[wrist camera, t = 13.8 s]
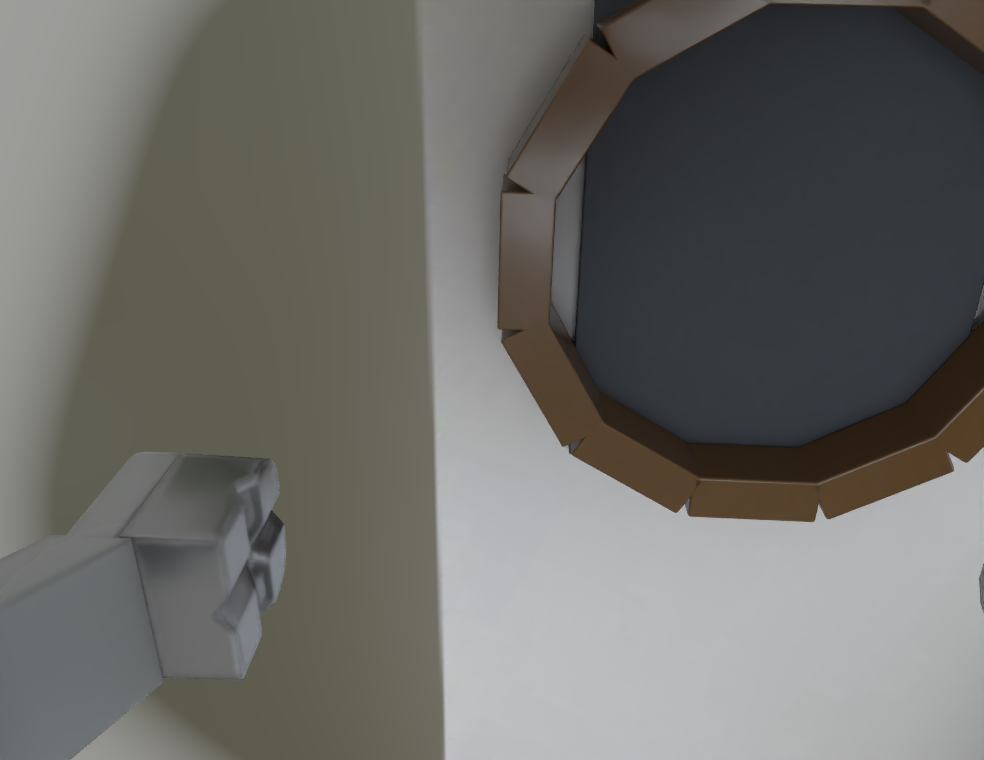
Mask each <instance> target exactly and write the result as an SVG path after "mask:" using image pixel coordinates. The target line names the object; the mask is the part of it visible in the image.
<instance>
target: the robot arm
mask: <svg viewBox="0 0 984 760" xmlns="http://www.w3.org/2000/svg"><path fill="white" fill-rule="evenodd" d="M279 492H280V489H279V482H278V476H277V469H276V466H275V465H274V463H273V462H272V460H271V459H266V458H251V457H234V456H218V455H217V456H216V455H201V454H181V453H164V452H141V453H137V454H133V455H132V456H131V457H130V459H129V460H128V461H127V462H126V464H125V465H124V466H123V467H122V468H121V469H120V471H119V472H118V473H117V474H116V475H115V477H114V478H113V479H112V480H111V482H110V483H109V484H108V485H107V486H106V488H105V489H104V490H103V491H102V492H101V494H100V495H99V496H98V497H97V498H96V500H95V501H94V502H93V503H92V504H91V506H90V507H89V508H88V509H87V510H86V512H85V513H84V514H83V515H82V516H81V518H80V519H79V520H78V521H77V522H76V524H75V525H74V526H73V527H72V528H71V530H70V531H69V532H68V533H67V535H50V536H48V537H46V538H44V539H42V540H40V541H37V542H35V543H33V544H31V545H29V546H27V547H25V548H23V549H20V550H18V551H16V552H14V553H12V554H10V555H8V556H6V557H3V558H2V559H0V760H71V759H72V758H73V757H74V756H75V755H77V754H78V753H79V752H80V751H81V750H83V749H84V748H85V747H86V746H87V745H89V744H90V743H91V742H92V741H93V740H95V739H96V738H97V737H98V736H99V735H100V734H102V733H103V732H104V731H105V730H107V729H108V728H109V727H110V726H111V725H112V724H114V723H115V722H116V721H117V720H119V719H120V718H121V717H122V716H123V715H124V714H126V713H127V712H128V711H129V710H130V709H131V708H133V707H134V706H135V705H136V704H137V703H139V702H140V701H141V700H142V699H144V698H145V697H146V696H147V695H148V694H150V693H151V692H152V691H153V690H154V689H155V688H157V687H158V686H159V685H160V684H161V683H163V679H162V678H187V679H230V680H243V678H244V676H245V673H246V671H247V668H248V666H249V664H250V661H251V659H252V657H253V654H254V652H255V649H256V647H257V645H258V642H259V640H260V638H261V635H262V630H261V623H260V616H259V615H260V614H262V613H263V612H264V611H266V610H267V609H269V608H270V607H272V606H273V605H274V604H275V601H276V599H277V596H278V593H279V591H280V588H281V585H282V579H283V574H284V568H285V562H286V538H285V529H284V523H283V522H282V521H281V520H280V519H279V518H278V517H277V516H276V515H275V513H273V511H272V510H271V509H272V507H273V505H274V503H275V501H276V499H277V497H278V495H279ZM979 584H980V603H981V606H982V609H983V612H984V564H983V568H982V571H981V574H980V578H979Z"/></svg>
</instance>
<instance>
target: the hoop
mask: <svg viewBox="0 0 984 760" xmlns="http://www.w3.org/2000/svg"><path fill="white" fill-rule="evenodd" d="M770 4H774V5H818V6H862V7H892V8H894V9H895V10H897V11H898V12H899V13H901V14H902V15H903V16H905V17H906V18H907V19H909V20H910V21H911V22H913V23H914V24H915V25H917V26H918V27H920V28H921V29H922V30H924V31H925V32H926V33H928V34H929V35H930V36H932V37H933V38H934V39H936V40H937V41H938V42H940V43H941V44H943V45H944V46H945V47H947V48H948V49H949V50H951V51H952V52H953V53H955V54H956V55H957V56H959V57H960V58H961V59H963V60H964V61H966V62H967V63H968V64H970V65H971V66H972V67H974V68H975V69H976V70H978V71H979V72H980V73H982V74H983V75H984V0H635V1H633V2H631V3H630V4H628V5H626V6H624V7H623V8H621V9H619V10H617V11H616V12H614V13H612V14H610V15H609V16H607V17H605V18H604V19H602V20H600V21H598V22H597V23H596V25H597V28H598V30H599V32H600V34H601V36H602V38H603V41H604V43H605V45H606V47H607V48H606V47H604V46H603V45H601V44H600V43H598V42H597V41H595V40H594V39H592V38H591V37H589V36H588V35H584V36H583V38H582V39H581V41H580V43H579V44H578V46H577V47H576V49H575V51H574V52H573V54H572V56H571V57H570V59H569V61H568V62H567V64H566V66H565V67H564V69H563V71H562V72H561V74H560V75H559V77H558V79H557V80H556V82H555V84H554V85H553V87H552V89H551V90H550V92H549V94H548V95H547V97H546V99H545V100H544V102H543V103H542V105H541V107H540V108H539V110H538V112H537V113H536V115H535V117H534V118H533V120H532V122H531V123H530V125H529V127H528V128H527V130H526V131H525V133H524V135H523V136H522V138H521V140H520V141H519V143H518V145H517V146H516V148H515V150H514V151H513V153H512V155H511V156H510V158H509V160H508V166H507V172H506V174H504V177H503V182H502V188H501V202H500V243H499V285H498V326H497V327H498V329H502V338H501V342H502V344H503V346H504V348H505V349H506V351H507V353H508V354H509V356H510V358H511V360H512V361H513V363H514V365H515V366H516V368H517V370H518V371H519V373H520V375H521V377H522V378H523V380H524V382H525V383H526V385H527V387H528V388H529V390H530V392H531V394H532V395H533V397H534V399H535V400H536V402H537V404H538V406H539V407H540V409H541V411H542V412H543V414H544V416H545V417H546V419H547V421H548V423H549V424H550V426H551V428H552V429H553V431H554V433H555V434H556V436H557V438H558V440H559V441H560V443H561V445H562V446H566V445H569V444H571V450H572V455H573V456H574V457H576V458H578V459H580V460H582V461H583V462H585V463H587V464H589V465H591V466H592V467H594V468H596V469H598V470H600V471H601V472H603V473H605V474H607V475H609V476H610V477H612V478H614V479H616V480H617V481H619V482H621V483H623V484H625V485H626V486H628V487H630V488H632V489H634V490H635V491H637V492H639V493H641V494H643V495H644V496H646V497H648V498H650V499H652V500H653V501H655V502H657V503H659V504H661V505H662V506H664V507H666V508H668V509H669V510H671V511H673V512H675V513H677V512H678V511H679V510H680V509H681V507H682V506H683V505H684V504H685V506H686V509H687V513H688V515H689V516H691V517H713V518H735V519H758V520H780V521H803V522H814V521H815V517H816V513H817V508H818V504H819V506H820V508H821V510H822V511H823V513H824V515H825V517H826V518H827V519H831V518H834V517H836V516H839V515H842V514H844V513H847V512H849V511H852V510H855V509H857V508H860V507H862V506H865V505H868V504H870V503H873V502H875V501H878V500H881V499H883V498H886V497H888V496H891V495H894V494H896V493H899V492H901V491H904V490H907V489H909V488H912V487H914V486H917V485H920V484H922V483H925V482H927V481H930V480H932V479H935V478H938V477H940V476H943V475H945V474H948V473H951V472H953V471H954V467H953V464H952V462H951V459H950V456H949V454H948V452H949V453H950V454H952V455H954V456H955V457H957V458H958V459H960V460H962V461H963V462H966V463H967V462H969V461H970V460H971V459H972V458H973V457H974V456H975V455H976V454H977V453H978V452H979V451H980V450H981V449H982V448H983V447H984V321H983V322H982V324H981V325H980V326H979V327H978V328H977V329H976V330H975V331H974V332H973V333H972V334H971V335H970V336H969V337H968V338H967V339H966V340H965V341H964V342H963V344H962V345H961V346H960V347H959V348H958V349H957V350H956V351H955V352H954V353H953V354H952V355H951V356H950V357H949V358H948V359H947V360H946V361H945V363H944V364H943V365H942V366H941V367H940V368H939V369H938V370H937V371H936V372H935V373H934V374H933V375H932V376H931V377H930V378H929V379H928V380H927V382H926V383H925V384H924V385H923V386H922V387H921V388H920V389H919V390H918V391H917V392H916V393H915V394H914V395H913V396H912V397H911V398H910V399H909V401H908V402H907V403H905V404H903V405H900V406H898V407H895V408H893V409H890V410H888V411H886V412H883V413H881V414H878V415H876V416H873V417H871V418H869V419H866V420H864V421H861V422H859V423H856V424H854V425H851V426H849V427H847V428H844V429H842V430H839V431H837V432H834V433H832V434H830V435H827V436H825V437H822V438H820V439H817V440H815V441H813V442H810V443H808V444H805V445H803V446H800V447H798V448H796V447H772V446H748V445H723V444H699V443H688V442H686V441H685V440H683V439H681V438H679V437H678V436H676V435H674V434H672V433H671V432H669V431H667V430H666V429H664V428H662V427H660V426H659V425H657V424H655V423H653V422H652V421H650V420H648V419H647V418H645V417H643V416H641V415H640V414H638V413H636V412H634V411H633V410H631V409H629V408H628V407H626V406H624V405H622V404H621V403H619V402H617V401H615V400H614V399H612V398H610V397H609V396H607V395H605V394H603V393H602V392H600V391H599V390H598V388H597V386H596V384H595V382H594V380H593V379H592V377H591V375H590V373H589V371H588V370H587V368H586V366H585V364H584V362H583V360H582V359H581V357H580V355H579V353H578V351H577V350H576V348H575V346H574V344H573V342H572V340H571V339H570V337H569V335H568V333H567V331H566V329H565V328H564V326H563V324H562V322H561V320H560V319H559V317H558V315H557V313H556V311H555V309H554V308H553V306H552V304H551V285H552V266H553V247H554V228H555V210H556V199H557V198H558V196H559V195H560V193H561V192H562V190H563V188H564V187H565V185H566V184H567V182H568V181H569V179H570V178H571V176H572V175H573V173H574V171H575V170H576V168H577V167H578V165H579V164H580V162H581V161H582V159H583V158H584V156H585V154H586V153H587V151H588V150H589V148H590V147H591V145H592V144H593V142H594V141H595V139H596V137H597V136H598V134H599V133H600V131H601V130H602V128H603V127H604V125H605V124H606V122H607V120H608V119H609V117H610V116H611V114H612V113H613V111H614V110H615V108H616V107H617V105H618V103H619V102H620V100H621V99H622V97H623V96H624V94H625V93H626V91H627V90H628V88H629V86H630V85H631V83H632V82H633V80H634V79H636V78H638V77H640V76H641V75H643V74H645V73H647V72H649V71H651V70H652V69H654V68H656V67H658V66H660V65H661V64H663V63H665V62H667V61H669V60H670V59H672V58H674V57H676V56H678V55H680V54H681V53H683V52H685V51H687V50H689V49H690V48H692V47H694V46H696V45H698V44H700V43H701V42H703V41H705V40H707V39H709V38H710V37H712V36H714V35H716V34H718V33H720V32H721V31H723V30H725V29H727V28H729V27H730V26H732V25H734V24H736V23H738V22H739V21H741V20H743V19H745V18H747V17H749V16H750V15H752V14H754V13H756V12H758V11H759V10H761V9H763V8H765V7H767V6H769V5H770Z"/></svg>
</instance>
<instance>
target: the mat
mask: <svg viewBox="0 0 984 760" xmlns="http://www.w3.org/2000/svg"><path fill="white" fill-rule="evenodd" d="M633 1H635V0H595V8H594V25H593V39H594V40H595V41H597V42H598V43H600V44H601V45H603V46H604V47H606V45H605V43H604V41H603V38H602V36H601V34H600V32H599V30H598V28H597V25H596V23H597V22H598V21H600V20H602V19H604V18H605V17H607V16H609V15H610V14H612V13H614V12H616V11H617V10H619V9H621V8H623V7H624V6H626V5H628V4H630V3H631V2H633ZM606 48H607V47H606ZM983 284H984V75H983V74H982V73H980V72H979V71H978V70H976V69H975V68H974V67H972V66H971V65H970V64H968V63H967V62H966V61H964V60H963V59H961V58H960V57H959V56H957V55H956V54H955V53H953V52H952V51H951V50H949V49H948V48H947V47H945V46H944V45H943V44H941V43H940V42H938V41H937V40H936V39H934V38H933V37H932V36H930V35H929V34H928V33H926V32H925V31H924V30H922V29H921V28H920V27H918V26H917V25H915V24H914V23H913V22H911V21H910V20H909V19H907V18H906V17H905V16H903V15H902V14H901V13H899V12H898V11H897V10H895V9H894V8H892V7H862V6H818V5H774V4H770V5H769V6H767V7H765V8H763V9H761V10H759V11H758V12H756V13H754V14H752V15H750V16H749V17H747V18H745V19H743V20H741V21H739V22H738V23H736V24H734V25H732V26H730V27H729V28H727V29H725V30H723V31H721V32H720V33H718V34H716V35H714V36H712V37H710V38H709V39H707V40H705V41H703V42H701V43H700V44H698V45H696V46H694V47H692V48H690V49H689V50H687V51H685V52H683V53H681V54H680V55H678V56H676V57H674V58H672V59H670V60H669V61H667V62H665V63H663V64H661V65H660V66H658V67H656V68H654V69H652V70H651V71H649V72H647V73H645V74H643V75H641V76H640V77H638V78H636V79H634V80H633V82H632V83H631V85H630V86H629V88H628V90H627V91H626V93H625V94H624V96H623V97H622V99H621V100H620V102H619V103H618V105H617V107H616V108H615V110H614V111H613V113H612V114H611V116H610V117H609V119H608V120H607V122H606V124H605V125H604V127H603V128H602V130H601V131H600V133H599V134H598V136H597V137H596V139H595V141H594V142H593V144H592V145H591V147H590V148H589V150H588V151H587V153H586V163H585V180H584V197H583V214H582V231H581V248H580V266H579V283H578V300H577V317H576V334H575V348H576V350H577V351H578V353H579V355H580V357H581V359H582V360H583V362H584V364H585V366H586V368H587V370H588V371H589V373H590V375H591V377H592V379H593V380H594V382H595V384H596V386H597V388H598V390H599V391H600V392H602V393H603V394H605V395H607V396H609V397H610V398H612V399H614V400H615V401H617V402H619V403H621V404H622V405H624V406H626V407H628V408H629V409H631V410H633V411H634V412H636V413H638V414H640V415H641V416H643V417H645V418H647V419H648V420H650V421H652V422H653V423H655V424H657V425H659V426H660V427H662V428H664V429H666V430H667V431H669V432H671V433H672V434H674V435H676V436H678V437H679V438H681V439H683V440H685V441H686V442H688V443H699V444H723V445H748V446H772V447H796V448H798V447H800V446H803V445H805V444H808V443H810V442H813V441H815V440H817V439H820V438H822V437H825V436H827V435H830V434H832V433H834V432H837V431H839V430H842V429H844V428H847V427H849V426H851V425H854V424H856V423H859V422H861V421H864V420H866V419H869V418H871V417H873V416H876V415H878V414H881V413H883V412H886V411H888V410H890V409H893V408H895V407H898V406H900V405H903V404H905V403H907V402H908V401H909V399H910V398H911V397H912V396H913V395H914V394H915V393H916V392H917V391H918V390H919V389H920V388H921V387H922V386H923V385H924V384H925V383H926V382H927V380H928V379H929V378H930V377H931V376H932V375H933V374H934V373H935V372H936V371H937V370H938V369H939V368H940V367H941V366H942V365H943V364H944V363H945V361H946V360H947V359H948V358H949V357H950V356H951V355H952V354H953V353H954V352H955V351H956V350H957V349H958V348H959V347H960V346H961V345H962V344H963V342H964V341H965V340H966V339H967V338H968V337H969V335H970V331H971V327H972V324H973V320H974V317H975V313H976V309H977V306H978V302H979V299H980V295H981V291H982V288H983ZM569 453H570V454H572V450H571V444H569Z"/></svg>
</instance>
